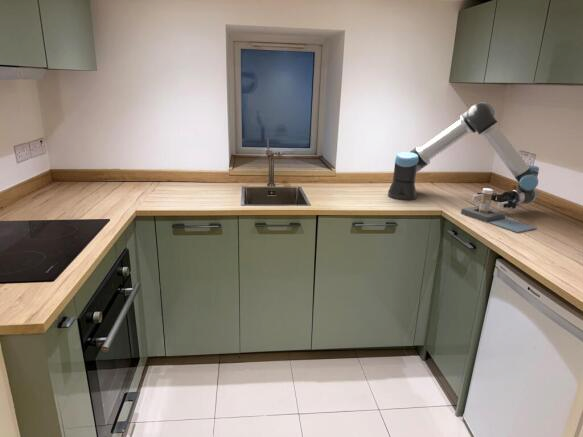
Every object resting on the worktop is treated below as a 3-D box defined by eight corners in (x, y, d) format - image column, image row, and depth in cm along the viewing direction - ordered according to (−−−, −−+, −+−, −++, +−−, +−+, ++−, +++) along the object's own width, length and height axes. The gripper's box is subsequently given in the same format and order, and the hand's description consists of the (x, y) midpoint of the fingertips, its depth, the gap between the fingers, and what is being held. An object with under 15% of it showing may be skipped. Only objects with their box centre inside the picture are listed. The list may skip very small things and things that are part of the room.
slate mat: (488, 223, 186) (488, 221, 186) (507, 219, 193) (507, 218, 193) (517, 233, 175) (517, 231, 174) (536, 229, 181) (536, 227, 181)
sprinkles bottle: (475, 214, 198) (481, 187, 194) (484, 214, 198) (490, 187, 194) (480, 217, 193) (486, 190, 189) (489, 217, 194) (495, 190, 190)
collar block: (460, 213, 198) (461, 208, 197) (479, 210, 205) (480, 205, 204) (486, 222, 187) (487, 217, 186) (505, 218, 194) (506, 213, 193)
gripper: (535, 212, 194) (508, 217, 184) (488, 198, 214) (461, 202, 204) (539, 197, 192) (511, 201, 181) (491, 184, 212) (464, 188, 202)
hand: (485, 202), depth 193 cm, fingers open, 13 cm apart
